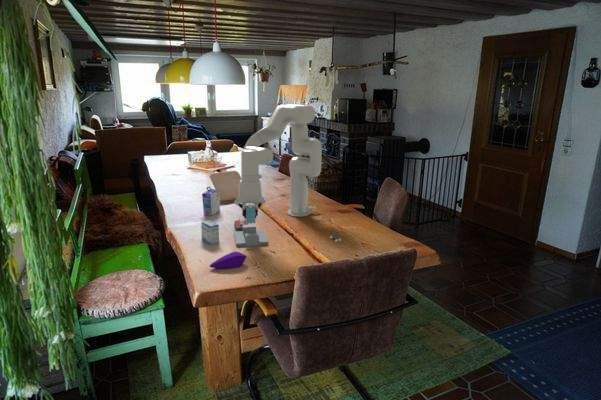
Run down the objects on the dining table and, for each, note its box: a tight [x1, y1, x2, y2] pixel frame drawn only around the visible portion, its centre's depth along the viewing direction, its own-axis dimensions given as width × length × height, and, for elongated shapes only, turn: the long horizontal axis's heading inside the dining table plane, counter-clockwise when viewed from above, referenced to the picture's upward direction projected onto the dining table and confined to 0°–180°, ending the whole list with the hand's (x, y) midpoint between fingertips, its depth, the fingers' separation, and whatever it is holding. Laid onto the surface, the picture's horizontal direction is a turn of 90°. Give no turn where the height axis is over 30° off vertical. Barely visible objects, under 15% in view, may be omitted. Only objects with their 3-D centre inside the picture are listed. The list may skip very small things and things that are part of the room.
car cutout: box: [329, 230, 342, 243], centre depth 183 cm, size 15×7×4 cm, turn 27°
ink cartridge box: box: [201, 185, 221, 217], centre depth 217 cm, size 10×6×14 cm, turn 164°
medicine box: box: [200, 220, 220, 245], centre depth 180 cm, size 8×4×9 cm, turn 45°
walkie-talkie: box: [233, 218, 253, 231], centre depth 199 cm, size 9×4×20 cm
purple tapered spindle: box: [209, 251, 248, 270], centre depth 156 cm, size 5×5×15 cm
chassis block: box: [233, 223, 269, 248], centre depth 183 cm, size 14×15×5 cm
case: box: [209, 170, 241, 205], centre depth 245 cm, size 20×21×16 cm
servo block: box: [244, 203, 256, 224], centre depth 180 cm, size 4×10×8 cm, turn 13°
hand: (250, 216), depth 180 cm, fingers closed on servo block, 4 cm apart
